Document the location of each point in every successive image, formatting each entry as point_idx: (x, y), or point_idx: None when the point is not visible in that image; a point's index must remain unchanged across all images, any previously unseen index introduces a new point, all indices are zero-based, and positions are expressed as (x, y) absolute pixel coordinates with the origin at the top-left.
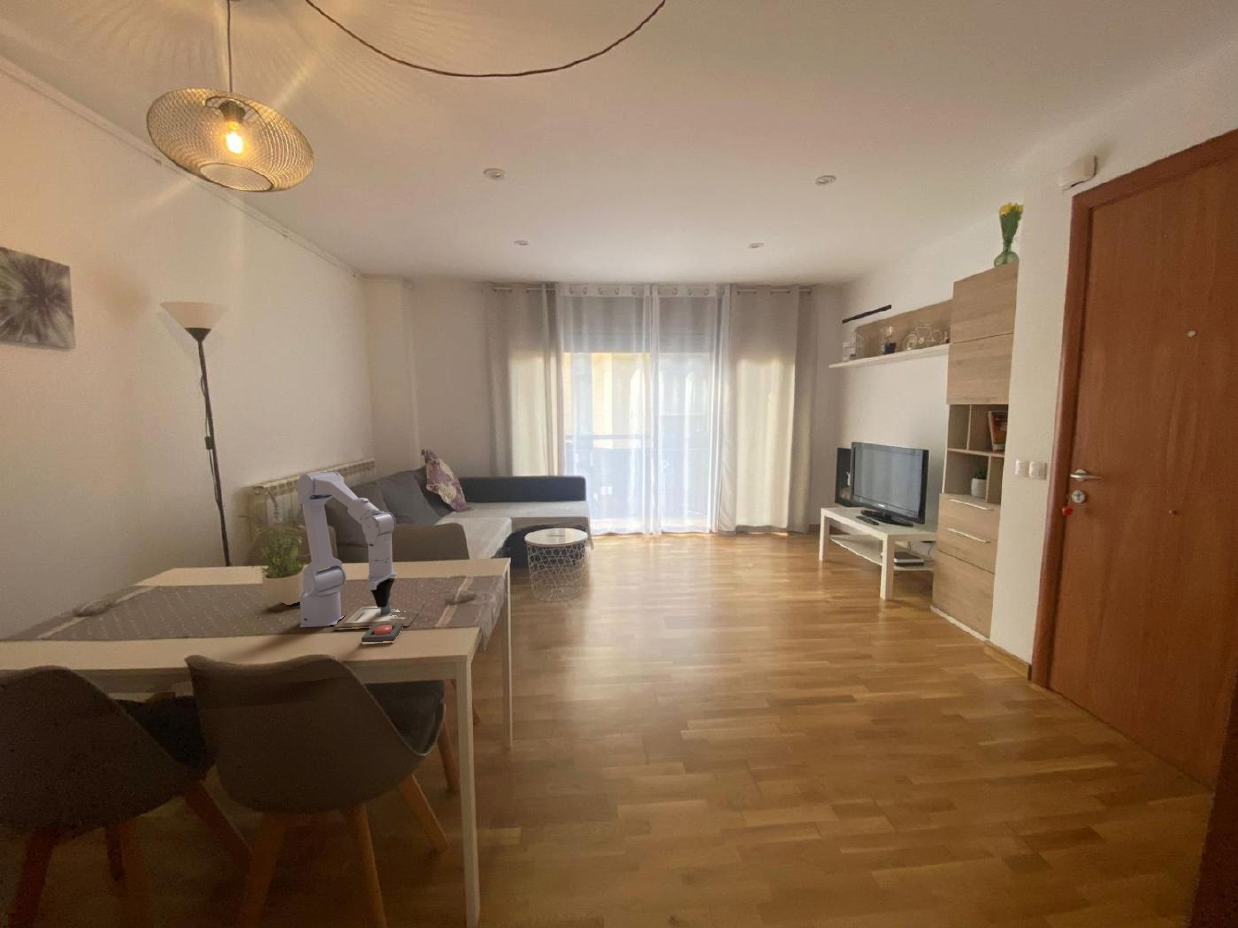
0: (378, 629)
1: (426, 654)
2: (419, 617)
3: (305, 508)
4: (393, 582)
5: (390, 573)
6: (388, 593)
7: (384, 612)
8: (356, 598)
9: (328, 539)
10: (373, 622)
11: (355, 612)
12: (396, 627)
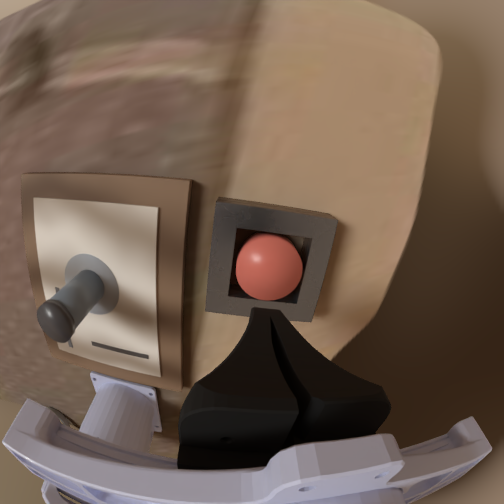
0: (275, 285)
1: (428, 114)
2: (115, 158)
3: None
4: (206, 376)
5: (376, 501)
6: (271, 346)
7: (101, 290)
8: (18, 352)
9: None
10: (158, 310)
11: (89, 359)
12: (258, 221)
